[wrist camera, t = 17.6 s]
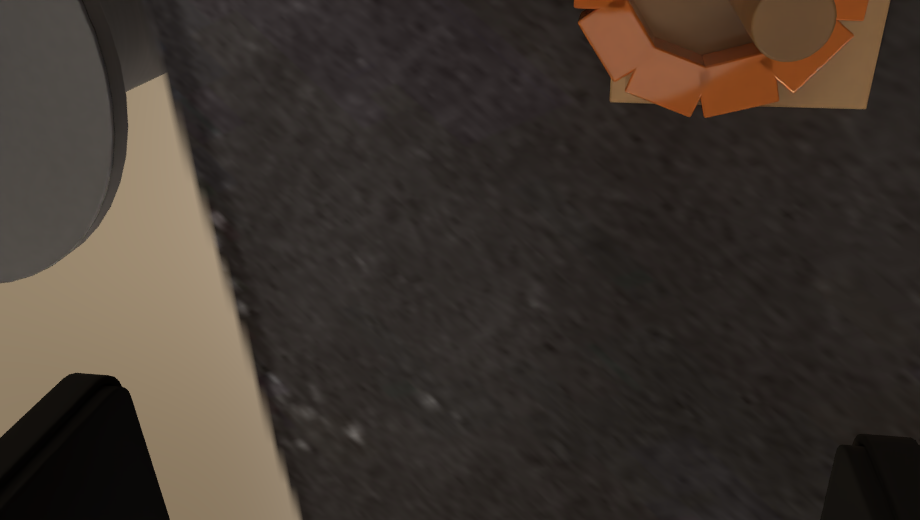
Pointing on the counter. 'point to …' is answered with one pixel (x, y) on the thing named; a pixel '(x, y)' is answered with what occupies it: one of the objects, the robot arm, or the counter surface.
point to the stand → (775, 42)
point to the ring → (698, 61)
